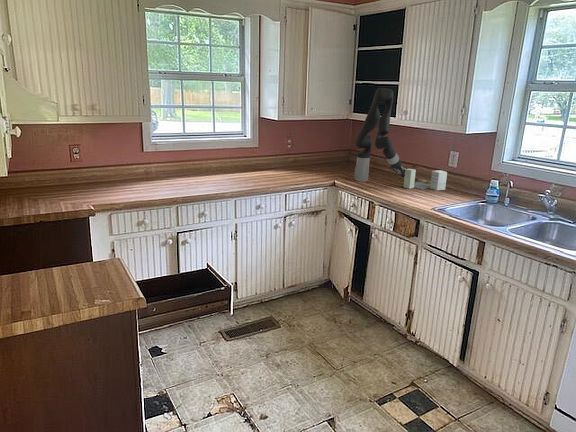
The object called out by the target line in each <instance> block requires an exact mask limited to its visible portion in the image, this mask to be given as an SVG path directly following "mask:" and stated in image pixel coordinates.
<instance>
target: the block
mask: <svg viewBox="0 0 576 432" xmlns="http://www.w3.org/2000/svg"><path fill="white" fill-rule="evenodd" d="M416 171H417V170H416V169H415V168H407V169H406V171H405V173H404V174H405V176H404V179H403V184H404V185H403V188H404V189H408V190H411V189H415V188H414V183H415V180H416Z"/></svg>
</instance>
